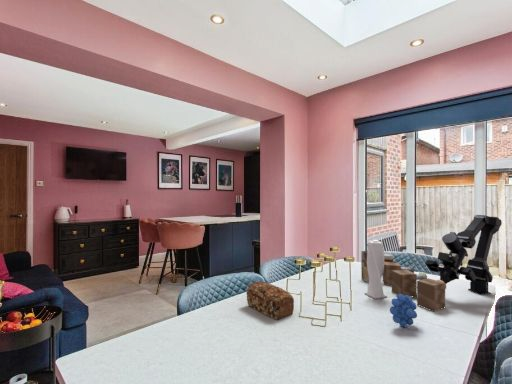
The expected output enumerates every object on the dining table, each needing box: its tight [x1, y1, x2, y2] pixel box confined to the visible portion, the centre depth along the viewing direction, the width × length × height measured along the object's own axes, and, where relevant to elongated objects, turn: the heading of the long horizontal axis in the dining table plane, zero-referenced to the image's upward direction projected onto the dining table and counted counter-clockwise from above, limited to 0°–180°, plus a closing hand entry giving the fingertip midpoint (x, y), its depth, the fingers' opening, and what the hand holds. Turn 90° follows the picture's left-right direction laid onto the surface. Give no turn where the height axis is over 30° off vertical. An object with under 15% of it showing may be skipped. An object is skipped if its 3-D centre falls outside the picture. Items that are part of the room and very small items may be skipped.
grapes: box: [389, 294, 418, 328], centre depth 98 cm, size 12×7×12 cm, turn 107°
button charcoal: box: [401, 265, 415, 273], centre depth 146 cm, size 8×5×5 cm, turn 71°
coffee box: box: [360, 250, 370, 284], centre depth 151 cm, size 9×6×16 cm
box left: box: [382, 261, 402, 286], centre depth 148 cm, size 8×7×10 cm
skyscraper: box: [364, 237, 388, 300], centre depth 129 cm, size 8×8×28 cm
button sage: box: [417, 271, 428, 281], centre depth 132 cm, size 8×5×5 cm, turn 95°
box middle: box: [391, 270, 418, 298], centre depth 132 cm, size 8×7×10 cm
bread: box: [246, 281, 295, 320], centre depth 114 cm, size 19×11×10 cm, turn 39°
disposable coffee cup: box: [382, 252, 395, 276], centre depth 165 cm, size 10×10×12 cm
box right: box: [416, 277, 446, 312], centre depth 118 cm, size 8×7×10 cm
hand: (441, 284), depth 121 cm, fingers closed, pressing on button terracotta
